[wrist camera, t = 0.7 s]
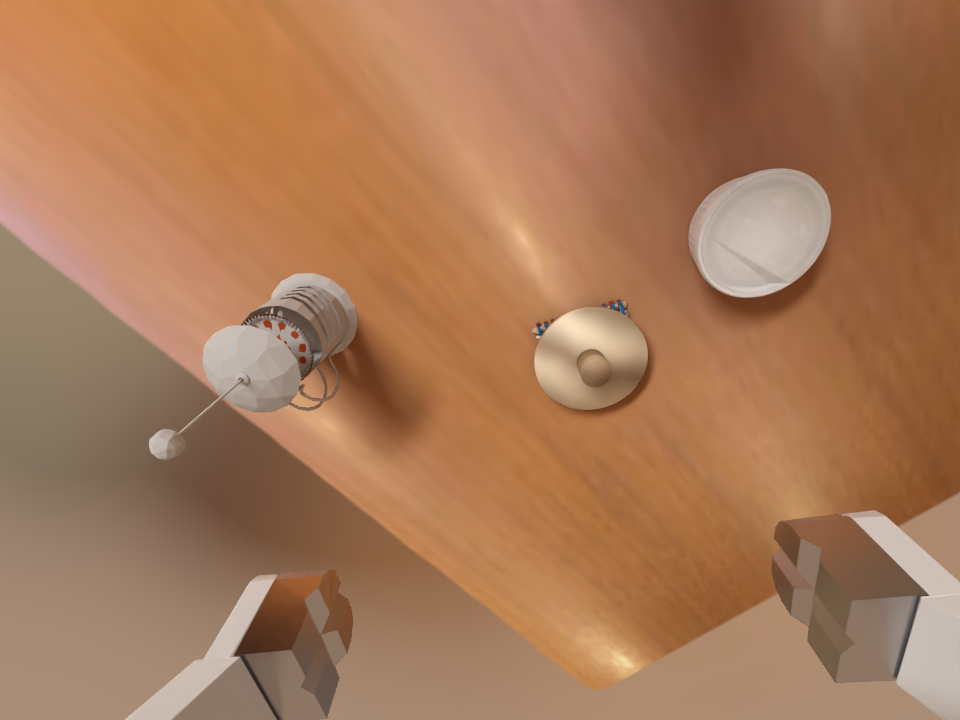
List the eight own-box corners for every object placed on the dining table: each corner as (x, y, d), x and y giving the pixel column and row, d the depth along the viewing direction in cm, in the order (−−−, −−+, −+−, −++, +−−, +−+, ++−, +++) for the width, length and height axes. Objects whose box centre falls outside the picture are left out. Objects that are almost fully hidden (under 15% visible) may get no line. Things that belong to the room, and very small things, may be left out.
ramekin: (670, 286, 47) (690, 301, 42) (684, 171, 42) (708, 173, 37) (781, 281, 46) (814, 295, 41) (807, 163, 42) (848, 164, 37)
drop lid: (549, 296, 46) (553, 307, 43) (662, 318, 47) (674, 331, 43) (523, 395, 51) (524, 413, 48) (625, 414, 52) (633, 433, 48)
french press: (313, 254, 47) (138, 347, 24) (386, 338, 50) (295, 488, 28) (250, 306, 49) (39, 435, 27) (324, 383, 53) (194, 554, 30)
